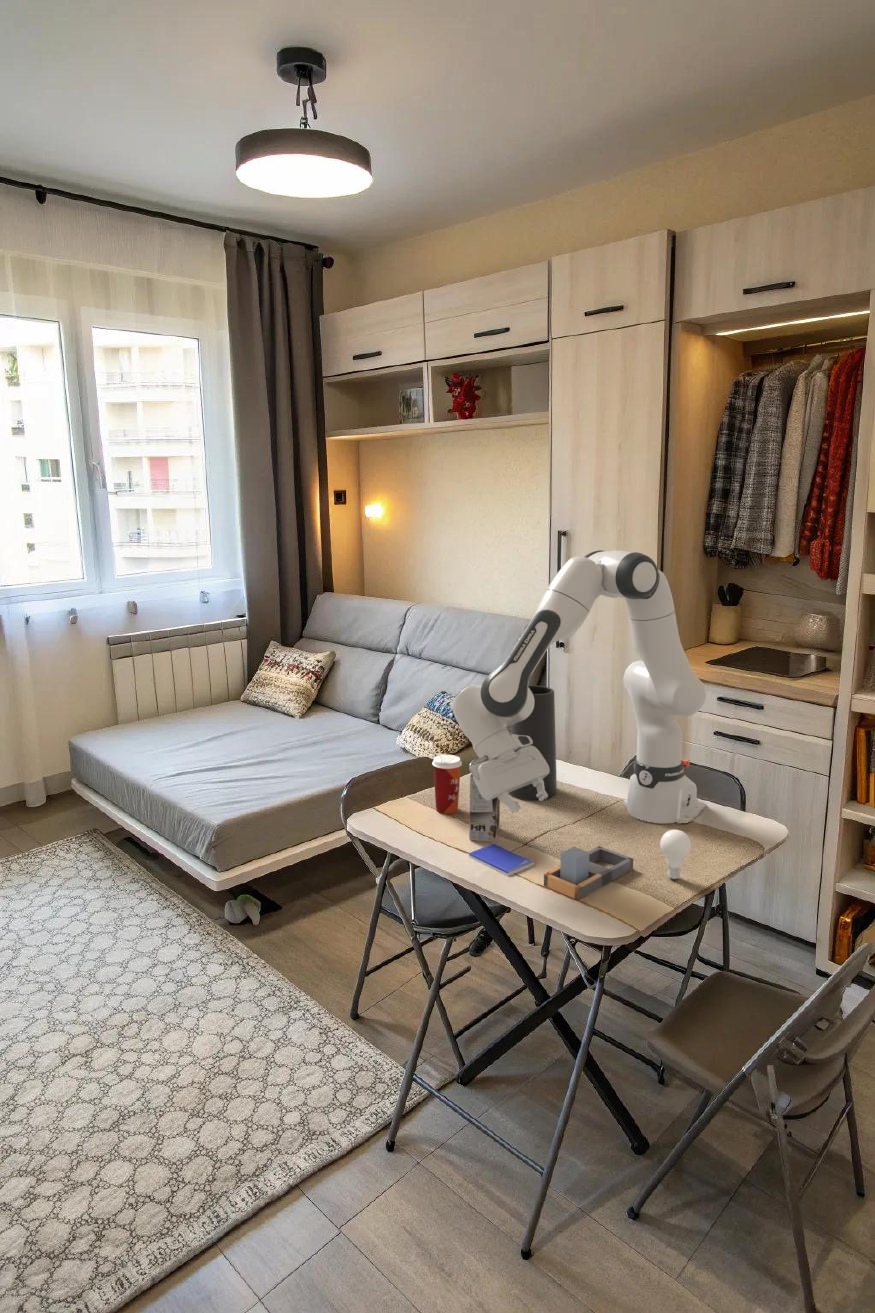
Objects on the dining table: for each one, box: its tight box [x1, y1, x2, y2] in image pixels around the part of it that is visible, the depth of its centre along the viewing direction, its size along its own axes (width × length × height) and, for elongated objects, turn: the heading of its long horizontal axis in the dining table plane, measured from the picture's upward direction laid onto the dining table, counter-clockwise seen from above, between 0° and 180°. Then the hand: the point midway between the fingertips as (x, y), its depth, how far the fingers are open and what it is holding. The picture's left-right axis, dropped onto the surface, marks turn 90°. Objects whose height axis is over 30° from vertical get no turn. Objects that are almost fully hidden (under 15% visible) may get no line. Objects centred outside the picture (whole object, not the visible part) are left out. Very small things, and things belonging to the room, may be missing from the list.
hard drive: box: [468, 843, 535, 877], centre depth 187 cm, size 2×8×12 cm
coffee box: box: [468, 773, 501, 843], centre depth 200 cm, size 9×6×16 cm
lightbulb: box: [659, 829, 692, 880], centre depth 178 cm, size 6×6×11 cm
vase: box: [509, 684, 558, 802], centre depth 226 cm, size 14×14×29 cm
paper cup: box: [431, 754, 463, 815], centre depth 215 cm, size 8×8×14 cm
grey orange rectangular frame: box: [543, 846, 634, 901], centre depth 179 cm, size 20×9×3 cm, turn 134°
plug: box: [559, 846, 589, 886], centre depth 175 cm, size 4×4×8 cm
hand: (530, 804), depth 182 cm, fingers open, 8 cm apart
